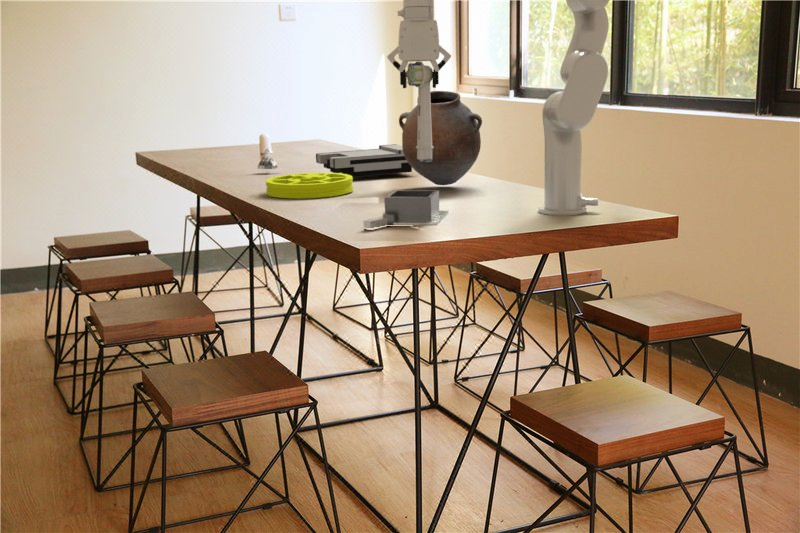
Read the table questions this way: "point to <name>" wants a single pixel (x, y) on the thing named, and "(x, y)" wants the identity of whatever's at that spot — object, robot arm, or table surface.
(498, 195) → the table surface
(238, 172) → the table surface
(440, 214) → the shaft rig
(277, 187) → the pulley
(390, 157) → the game console
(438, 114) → the clay pot
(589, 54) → the robot arm
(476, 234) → the table surface
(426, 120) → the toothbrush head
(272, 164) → the house of cards
